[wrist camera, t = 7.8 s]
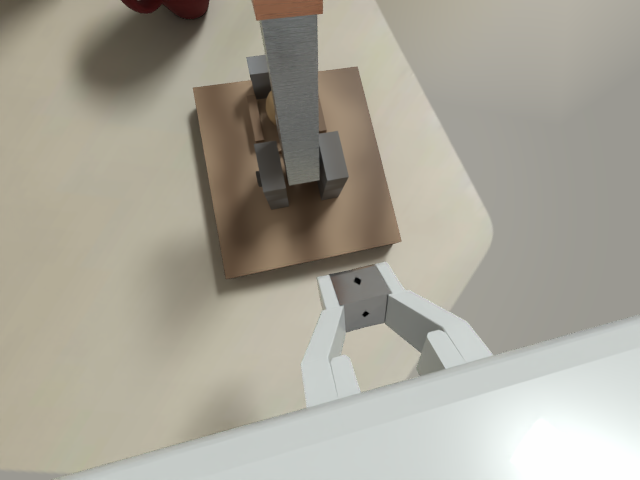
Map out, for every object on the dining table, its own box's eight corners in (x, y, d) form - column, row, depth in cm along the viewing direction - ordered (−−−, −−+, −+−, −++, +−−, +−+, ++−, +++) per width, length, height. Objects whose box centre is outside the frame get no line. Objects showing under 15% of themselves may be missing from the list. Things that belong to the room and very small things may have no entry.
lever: (286, 187, 19) (222, -168, 7) (278, 148, 21) (218, -170, 9) (322, 181, 19) (322, -170, 7) (310, 143, 21) (294, -171, 9)
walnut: (280, 143, 23) (277, 121, 19) (261, 113, 23) (254, 85, 20) (312, 126, 23) (314, 101, 20) (293, 96, 24) (292, 66, 20)
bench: (232, 278, 23) (203, 281, 16) (201, 102, 25) (163, 37, 18) (393, 243, 25) (430, 233, 18) (353, 81, 27) (372, 15, 20)
